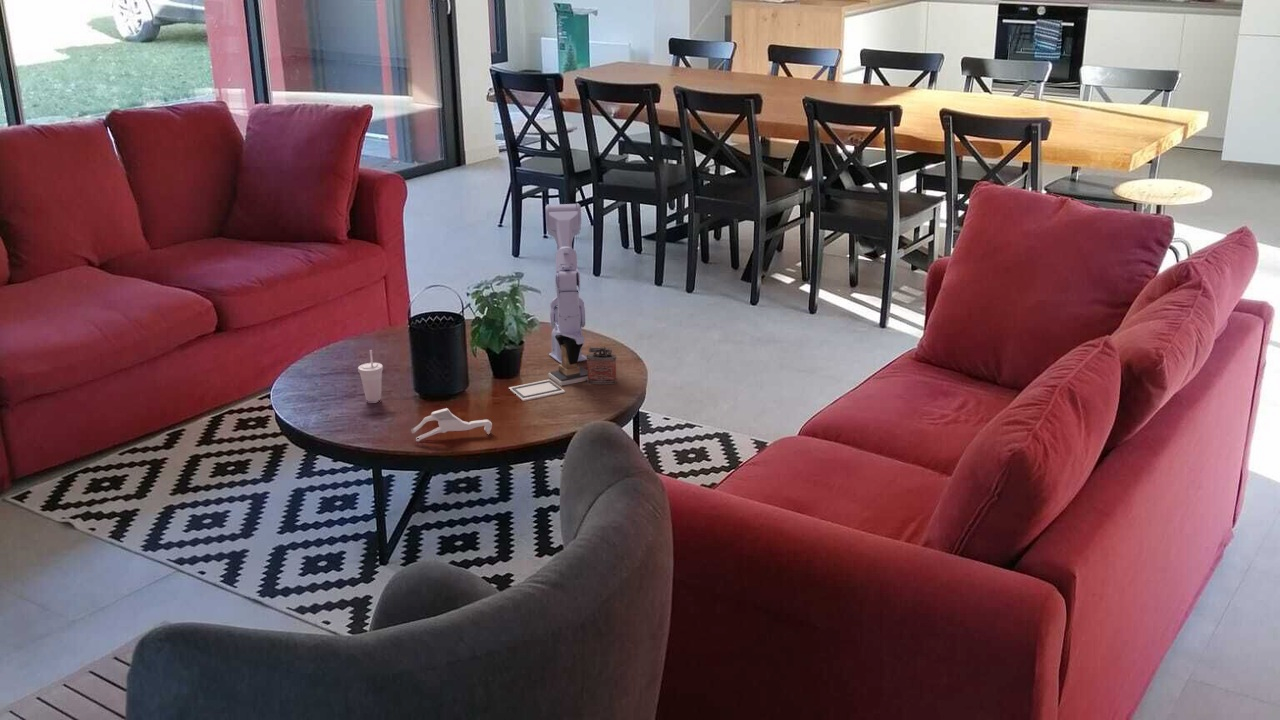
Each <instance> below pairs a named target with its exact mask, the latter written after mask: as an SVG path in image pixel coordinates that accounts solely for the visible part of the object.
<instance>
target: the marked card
mask: <svg viewBox="0 0 1280 720" xmlns="http://www.w3.org/2000/svg"><path fill="white" fill-rule="evenodd" d="M509 389H510V390H509ZM508 390H509V391H511V392H512V394H514V395H515V394H516V395H515V396H517V398H519V399H520V400H522V401H523V402H525V401H530V400H535V399H536V400H537V399H541V398H544V397H551V396H555V395H559V394H565V393H566V390H564V388H561V386H560V385H559V384H557V383H556V382H555V381H553V380H552V379H551V378H549V379H544V380H539V381H535V382H529V383H525V384H520V385H514V386H508Z"/></svg>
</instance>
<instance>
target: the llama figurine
mask: <svg viewBox="0 0 1280 720" xmlns="http://www.w3.org/2000/svg"><path fill="white" fill-rule="evenodd" d="M430 421H431V422H432V421H437V422H438V423H437V424H438V427H435V428H434V429H432V430H430V431H428V432H425V433H423V434H420V435H419V436H418V435H417V436H416V437H415V441H416V442H420V441H421V440H423V439H425V438H428V437H431V436H434V435H436V434H440V433H441V434H442V433H443V434H446V433H447V432H455V431H456V432H460V431H461V432H463V431H468V430H473V429H475V428H480V427H484V428H483V429H484V431H485V432H486V435H487V434H488V435H489V434H491V430H492V427H493V423H492V422H491V420H489V419H478V420H471V421H469V422H468V421H466V420H465V421H464V420H462V419H461V418H459V417H457V416H456V415H455V414H453V413H452V412H451V411H450V409H449V408H447V407H446V408H442V409H438V410H435V411H432V412H431V413H430V415H428V416H425V417H423V419H422V421H421V422H420V423H418V424H417V425H416V426H414V427H412V428H410V431H411V433H412V435H413V434H416V432H417V431H418V430H420V429H421V428H422V427H423V426H424V425H425V424H426V423H427V422H430ZM417 438H419V439H417Z"/></svg>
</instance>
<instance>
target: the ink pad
mask: <svg viewBox="0 0 1280 720" xmlns="http://www.w3.org/2000/svg"><path fill="white" fill-rule="evenodd" d="M577 366H578V367H579V368H580V375H575V376H570V377H566V376H564V375H563V374H561V373H560V372H559V369H558V370H553V371H550V372H548V373H547V374H548V376H547V377H548V378H549V379H550V380H551V381H553V382H554V383H555V384H557V385H558V386H559V387H562V386H566V385H572V384H576V383H581V382H585V381H586V382H587V378H588V369H585V368H584V367H583V366H581V365H577Z"/></svg>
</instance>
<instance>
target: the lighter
mask: <svg viewBox="0 0 1280 720" xmlns="http://www.w3.org/2000/svg"><path fill="white" fill-rule="evenodd" d="M612 349H613V348H612V347H605V345H602V346H600V347H597V346H590V347H589V348H588V353H589V354H587V355H586V358H587V360H586V361H587V362H586V363H587V371H588V378H587V381H586V382H587V384H592V385H593V384H595V385H614V384H617V381H618V378H617V355H616V354H612V353H613V352H612Z"/></svg>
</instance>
